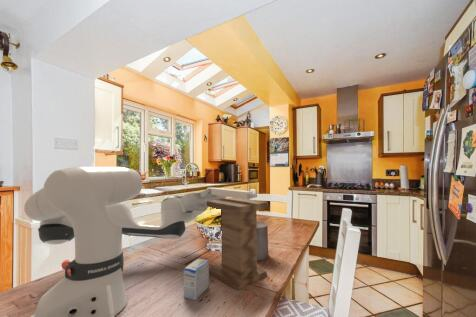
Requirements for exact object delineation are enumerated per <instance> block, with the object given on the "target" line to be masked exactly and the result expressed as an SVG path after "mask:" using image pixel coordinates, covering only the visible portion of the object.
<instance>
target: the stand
mask: <svg viewBox="0 0 476 317" xmlns="http://www.w3.org/2000/svg"><path fill="white" fill-rule="evenodd" d="M207 207H208V208H211V207H212V208H216V209H221V231H222V235H221V263H220V264H218V265H215V266H214V265H213V266H212V267H209V275H211V276H213V277H214V278H216V279H219V280H220V281H221V282H224V283H225V284H227V285H229V286H230V287H232V288H234V289H235V290H237V291H240V290H241V289H243V288H245V287H247V286H249V285H251V284H253V283H255V282H257V281H260V279H262V278H264V277H267V276H268V272H267V271H268V270H266V269H263V268H261V267H258V260H257V222H258V221H257V211H259V210H263V209H269V201H264V200H258V199H257V200H256V199H241V198H233V197H228V198H227V197H226V198H225V199H218V200H211V201H207Z"/></svg>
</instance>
